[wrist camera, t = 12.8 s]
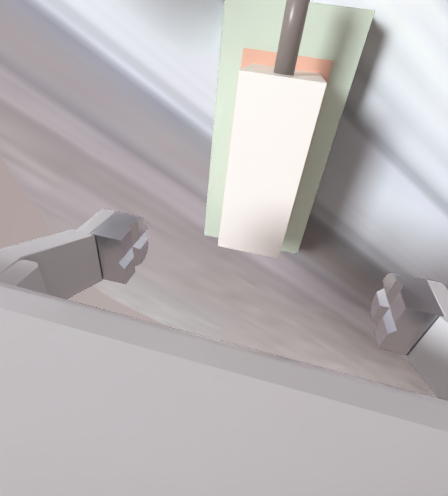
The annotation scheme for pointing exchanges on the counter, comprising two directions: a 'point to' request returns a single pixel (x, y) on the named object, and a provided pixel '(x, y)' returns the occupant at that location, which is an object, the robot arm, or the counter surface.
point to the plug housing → (269, 143)
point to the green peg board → (309, 59)
